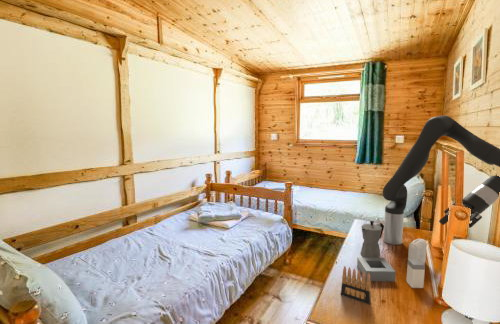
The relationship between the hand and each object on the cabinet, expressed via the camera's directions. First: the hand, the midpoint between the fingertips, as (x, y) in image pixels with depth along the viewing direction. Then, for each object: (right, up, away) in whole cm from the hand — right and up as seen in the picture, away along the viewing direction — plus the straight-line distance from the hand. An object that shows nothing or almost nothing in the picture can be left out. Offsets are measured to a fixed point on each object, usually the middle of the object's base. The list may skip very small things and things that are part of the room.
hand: (447, 227), depth 112 cm
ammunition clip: (-38, -27, -4) cm, 47 cm away
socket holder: (-23, -24, +13) cm, 35 cm away
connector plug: (-10, -25, +4) cm, 27 cm away
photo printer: (0, -23, +20) cm, 30 cm away
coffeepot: (-17, -21, +30) cm, 41 cm away
